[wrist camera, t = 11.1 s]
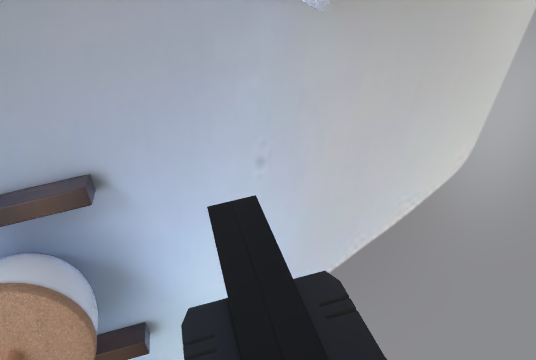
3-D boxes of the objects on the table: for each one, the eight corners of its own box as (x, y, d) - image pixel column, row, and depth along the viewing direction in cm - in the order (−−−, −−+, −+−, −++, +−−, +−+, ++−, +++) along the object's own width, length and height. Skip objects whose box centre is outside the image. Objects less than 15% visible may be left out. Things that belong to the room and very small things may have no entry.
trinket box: (92, 220, 37) (74, 295, 29) (116, 322, 42) (106, 411, 33) (-54, 240, 35) (-119, 326, 27) (-12, 344, 40) (-57, 445, 31)
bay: (-17, 379, 41) (-27, 403, 39) (-119, 221, 33) (-138, 239, 31) (149, 333, 43) (149, 353, 41) (89, 173, 35) (85, 187, 33)
